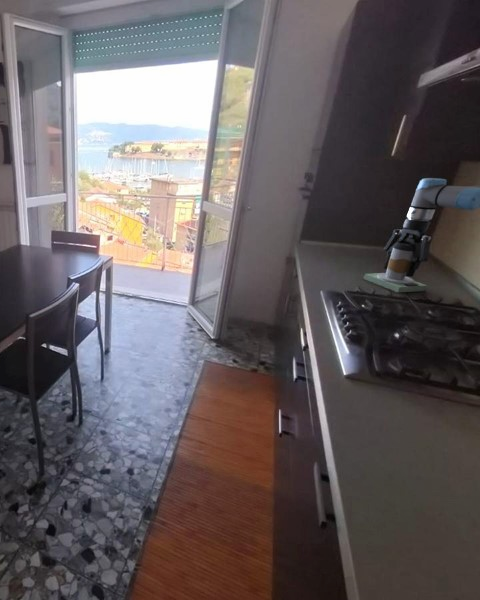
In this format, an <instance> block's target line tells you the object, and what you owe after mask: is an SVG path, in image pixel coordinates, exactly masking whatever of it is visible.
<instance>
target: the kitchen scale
mask: <svg viewBox="0 0 480 600" xmlns="http://www.w3.org/2000/svg"><path fill="white" fill-rule="evenodd" d="M363 280H365V281H367V282H370V283H372V284H375V285H378V286H380V287H383V288H385V289H386V290H387V289H388V290H390V291H392V292H395V293H397V294H399V293H412V292H425V291H426V289H427V287H428V285H427V284H424V283H421V282H418V281H416V280H414V279H413V278H412V277H406V276H405V278H404V279H403V280H395V279H390V278H388V277H386V272H374V273H365V274H364V276H363Z"/></svg>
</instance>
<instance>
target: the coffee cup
mask: <svg viewBox="0 0 480 600" xmlns="http://www.w3.org/2000/svg"><path fill="white" fill-rule="evenodd" d="M413 252H414V245H411V243H409V242H401V243H400V242H399V241H398V240H397V241H396V243H395V244H394V246H393V250H392V253H391V257H390V259H389V263H388V267H387V269H386V272H385V273H386V277H388V278H390V279H395V280H403V279H404V278H405V276H406V274H407V271H408V269H409V266H410V264H411V261H414V256H413Z"/></svg>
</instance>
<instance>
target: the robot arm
mask: <svg viewBox="0 0 480 600" xmlns="http://www.w3.org/2000/svg"><path fill="white" fill-rule="evenodd" d="M437 207H444V208H452V209H459V210H463V211H464V210H465V211H466V210H467V211H474V210H478V209H479V208H480V185H471V186H470V185H469V186H458V185H448V184H447V179H445V178H435V177H425V178H422V179H421V180H419V183H418V185H417V187H416V189H415V193H414V196H413V198H412V201H411V204H410V206H409V209H408V212H407V214H406V218H405V220H404V222H403V225H402V229H401V228H399V229H398V228H397V229H396V228H395V229H394V230H393V232H392V235H391V237H390V238H389V239H388V241H387V243H386V245H385V246H384V248H383V252H386V256H385V259H384V260H385V263H384V265H383V270H387V267H388V263H389V259H390V257H391V253H392V250H393V246H394V244H395V243H396V242H397V241H399V242H400V243H401V242H409V243H411V245H414V252H413V256H414V260H413V261H411V264H410V266H409V269H408V271H407V274H406V277H409V278H412V277H414V274H415V272H416V271H417V270H418V269H419V267H420V265H421V263H423V262H424V263H425V262H428V261H429V255H430V247H431V242H432V240H433V236H431V235H430V236H428V235H426V231H428V229H429V226H430V224H431V220H432V219H433V218H434V214H435V212H436V209H437Z"/></svg>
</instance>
